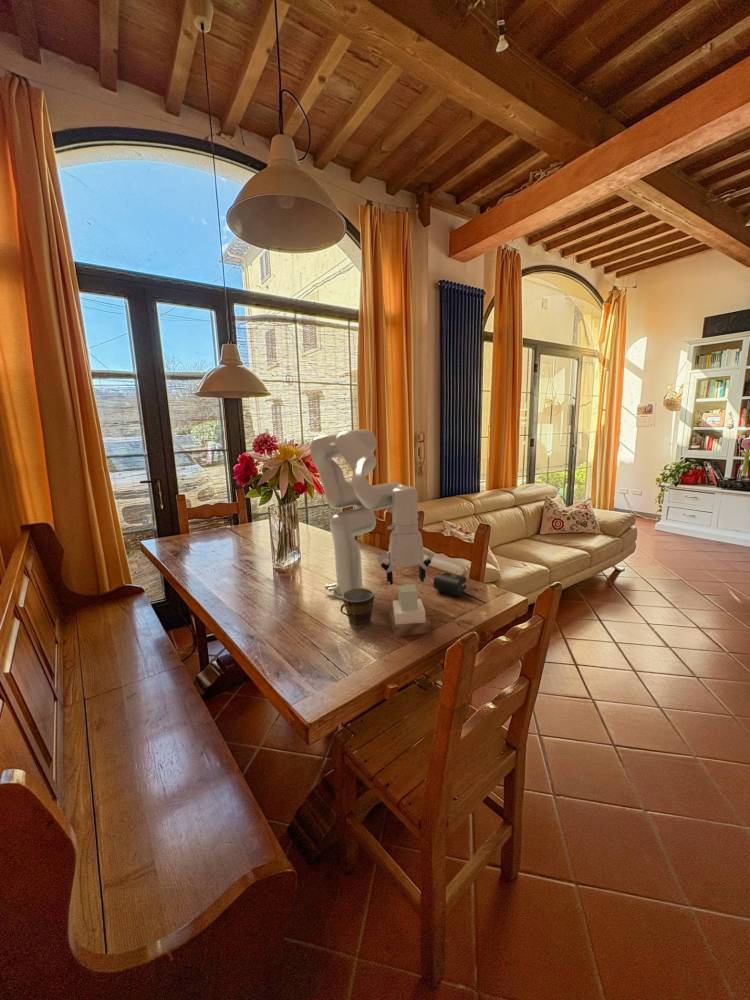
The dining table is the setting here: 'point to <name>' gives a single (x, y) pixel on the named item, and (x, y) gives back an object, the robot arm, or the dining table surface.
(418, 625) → the walnut slab
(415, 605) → the green block
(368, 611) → the ceramic cup
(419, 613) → the white slab
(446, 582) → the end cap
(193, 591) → the dining table surface
